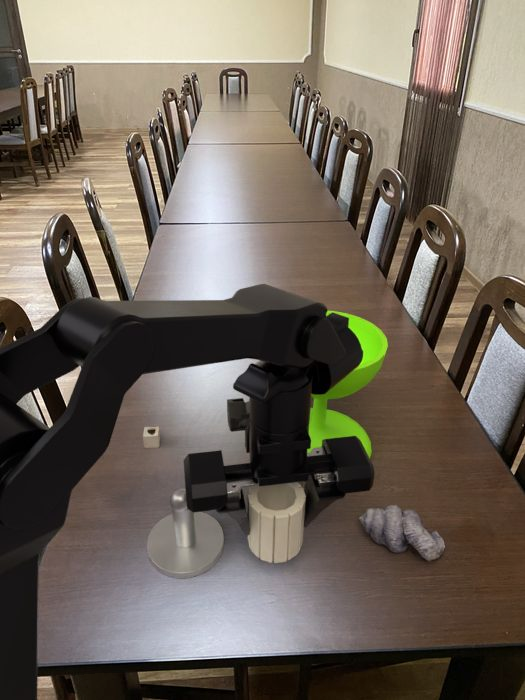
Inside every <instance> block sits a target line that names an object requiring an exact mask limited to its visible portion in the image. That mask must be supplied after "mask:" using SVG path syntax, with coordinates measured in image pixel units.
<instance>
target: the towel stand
mask: <svg viewBox="0 0 525 700" xmlns="http://www.w3.org/2000/svg"><path fill="white" fill-rule="evenodd" d="M169 504H170V507H171V513H170V514H168V515H166V516H164V517H163V518H161V519H160V520H158V521H157V522H156V523H155V524H154V526H153V527H152V528H151V530H150V532H149V533H148V537H147V540H146V551H147V556H148V560H149V562H150V564H151V565H152V566H153V568H154V569H155V570H156V571H158V572H159V573H161V574H162V575H163V576H165V577H170V578H173V579H189V578H194V577H197V576H200V575H202V574H205V573H206V572H207V571H209V570H210V569H212V568H213V567H214V566H215V565H216V564H217V563H218V562H219V560H220V558H222V554H223V552H224V548H225V535H224V530H223V528H222V525H221V524H220V523H219V522H218V520H217V519H216V518H215V517H213V516H212V515H210V514H208V513H207V512H205V511H203V512H195V513H193V512H191V511H190V510H188V509H187V501H186V489H185V487H183V488H182V487H181V488H178V489H175V490H174V491H173V492H172V493H171V495H170V497H169Z"/></svg>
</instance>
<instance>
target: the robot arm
mask: <svg viewBox="0 0 525 700" xmlns="http://www.w3.org/2000/svg"><path fill="white" fill-rule="evenodd" d="M327 311H329V310H328V307H327V305H326V304H325V303H322V302H319V301H316V300H313V299H311V298H308V297H304V296H301V295H299V294H296V293H294V292H290V291H287V290H284V289H281V288H278V287H275V286H273V285H270V284H267V283H259V284H256V285H251V286H247V287H243V288H239V289H238V290H236V291H235V293H234V294H233V295H232V296H231V297H229V298H224V299H191V300H190V299H189V300H187V299H186V300H183V299H181V300H180V299H178V300H169V299H167V300H104V299H101V298H98V297H94V296H89V297H80V298H76V299H72V300H70V301H69V302H67V303H66V304H64V305H63V306H62V307H61V308H60V309H59V310H58V311H57V312H56V313H55V314H54V315H52V317H50V318H49V319H48V320H47V321H46V322H45V323H44V324H43V325H41V327H39V328H38V329H36V330H33V331H31V332H29V333H27V334H26V335H24V336H21V337H19V338H18V339H15V340H14V341H11V342H9V343H7V344H5V345H4V346H1V347H0V700H39V699H38V675H39V674H38V673H39V672H38V669H39V609H40V608H39V605H40V602H39V601H40V557H41V553H42V552H43V551H44V549H45V548H46V547H47V546H48V545H49V544H50V542H51V541H52V540H53V539H54V538H55V537H56V536H57V534H58V533H59V532H60V531H61V530H62V529H63V528H64V526H65V523H66V520H67V516H68V511H69V507H70V502H71V496H72V492H73V490H74V489H75V487H76V486H77V485H78V484H79V483H80V481H81V480H82V479H83V478H84V477H85V476H86V475H87V473H89V471H90V470H91V469H92V468H93V467H94V466H95V464H96V463H97V462H98V461H99V460H100V459H101V457H102V456H103V455H104V454H105V453H106V451H107V449H108V447H109V445H110V443H111V439H112V436H113V433H114V430H115V426H116V424H117V420H118V417H119V414H120V411H121V407H122V404H123V401H124V397H125V395H126V393H128V391H129V390H130V389H131V388H132V387H133V385H135V383H136V382H137V381H138V380H139V379H140V378H141V376H143V375H147V374H154V373H162V372H167V371H174V370H175V371H176V370H179V369H186V368H187V369H188V368H193V367H200V366H207V365H213V364H221V363H226V362H232V361H239V360H240V361H241V360H245V359H246V360H247V359H250V360H257V362H255V363H253V362H251V363H249V364H248V367H247V369H246V370H245V371H244V372H243V373H241V374H240V375H238V376H237V378H236V380H235V381H234V383H233V384H232V388H233V390H234V391H236V392H238V393H240V394H242V395H244V396H247V397H248V398H249V400H248V401H246V402H245V400H244V398H243V397H239V398H229V399H226V412H227V413H226V415H227V425H228V429H229V431H230V432H231V433H232V432H243V431H244V447H245V448H244V449H245V452H246V454H249V462H246V463H237V464H228V465H227V464H226V465H225V464H224V456H223V451H222V450H221V449H219V450H210V451H202V452H192V453H188V454H187V455H186V456H185V458H184V459H183V470H184V472H183V473H184V486H185V487H184V489H186V501H187V509H188V510H190V511H191V512H193V513H195V512H210V511H215V512H216V513H217V514H220V515H223V514H226V515H227V516H229V517H230V518H231V519H233V521H235V523H237V525H238V526H239V528H240V529H241V531H242V532H243V533H244V535H245V536H248V535H249V534H250V525H249V520H248V509H247V505H246V500H245V496H244V491H243V490H244V489H245V488H250V487H252V486H259V487H260V486H269V485H277V484H286V483H294V482H298V483H301V482H304V487H303V489H304V492H305V496H306V502H305V515H304V529H305V528H308V527H309V526H310V524H311V523H312V522H313V521H314V520H316V518H318V516H320V514H321V513H323V512H324V511H325V510H326V509H327V508H328V507H329V506H331V505H332V504H333V503H335V502H336V501H337V500H342V499H344V498H345V497H346V495H347V494H355V493H363V492H369V491H371V489H372V488H373V487H374V482H375V476H376V475H375V468H374V464H373V463H372V460H371V457H370V458H369V456H368V454H367V452H366V450H365V448H364V446H363V444H362V442H361V440H359V439H358V438H357V437H356V436H349V437H339V438H330V439H324V440H322V447H317V448H313V449H312V450H311V452H310V453H307V450H308V449H311V439H310V436H309V422H310V408H312V407H311V406H312V397H311V394H314V395H321V394H326V393H327V392H328V391H329V390H330V389H332V388H333V387H334V386H335V385H336V384H338V383H339V382H340V381H341V380H342V379H344V378H345V377H346V376H347V375H348V374H350V373H351V372H352V371H353V370H354V369H356V368H357V367H358V366H359V365H360V363H361V362H362V358H363V350H362V348H361V344H360V342H359V339H358V338H357V336H356V335H355V333H354V332H353V331H352V330H351V329H350V328H348V324H349V318H348V317H345V316H342V315H339V314H336V313H333V312H332V313H331V314H329V315H327V316H326V313H327ZM79 367H81V368H80V371H79V373H78V377H77V379H76V382H75V384H74V387H73V389H72V392H71V394H70V398H69V400H68V402H67V405H66V408H65V410H64V412H63V413H62V414H61V416H60V417H59V418H58V419H57V420H56V421H55V422H54V423H53V424H51V426H50V427H49V426H48V425H46V424H45V423H44V422H43V421H41V420H40V419H39V418H37V417H35V416H34V415H33V414H31V413H30V412H28V411H27V410H26V409H24V408H23V407H22V406H20V405H19V404H18V403H19V402H20V401H21V400H22V399H23V398H24V397H25V396H26V395H28V394H30V393H32V392H34V391H36V390H38V389H40V388H42V387H44V386H46V385H48V384H50V383H52V382H54V381H56V380H58V379H60V378H61V377H64V376H66V375H68V374H70V373H72V372H74V371H75V370H76V369H78V368H79Z"/></svg>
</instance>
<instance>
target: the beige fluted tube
mask: <svg viewBox="0 0 525 700" xmlns="http://www.w3.org/2000/svg"><path fill="white" fill-rule="evenodd" d="M305 502H306V496H305V492H304V487H303V486H302V485H301V483H300V482H294V483H286V484H277V485H269V486H260V487H259V486H252V487H249V489H248V491H247V515H248V520H249V525H250V534H249V535H247V542H248V548H249V549H250V551H251V552H252V554H253V555H255V556H256V558H258V559H259V558H260V560H261V561H264V562H267V563H270V564H272V563H274V564H278V563H286V562H287V561H290V560H292V559H293V558H294V557H296V556H297V555H298V553H300V551H301V548H302V547H303V546H302V545H303V543H304V542H303V541H304V529H305V528H304V515H305Z"/></svg>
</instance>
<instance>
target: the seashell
mask: <svg viewBox="0 0 525 700" xmlns="http://www.w3.org/2000/svg"><path fill="white" fill-rule="evenodd" d="M359 522H360V523H361V525H362V527H363V528H364V529H365V532H366V534H368V535H370V537H371V539H372V540H373V542H375V543H376V544H377V545H384V546H386V548H387V549H388V550H389V551H390V552H392V553H394V554H399V553H403V552H405V551H407V550H408V547H409V545H411V547H413V549H415V550H416V551H417V552H418V554H420V556H421V557H422V558H423V559H424V560H426V561H427V562H432V561H433V560H436V559H438V558H440V556H441V555H442V554H444V550H445V548H446V545H445V541H444V538H443V537H442V536H441V535H439V532H438V530H434V531H432V532H431V533H430V532H429V531H428V530H427V529H426V528H425V526H424V525H423V522H422V519H421V518H420V515H419V514H418V513H417V512H416V511H415V510H413V509H405V510H402V508H400V507H399V506H398V505H397V504H390V505H387V506H385V508H379V507H376V508H374V507H373V508H372V507H370V508H367V509H366V510H365V513H363V515H361V516H360V517H359Z"/></svg>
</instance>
